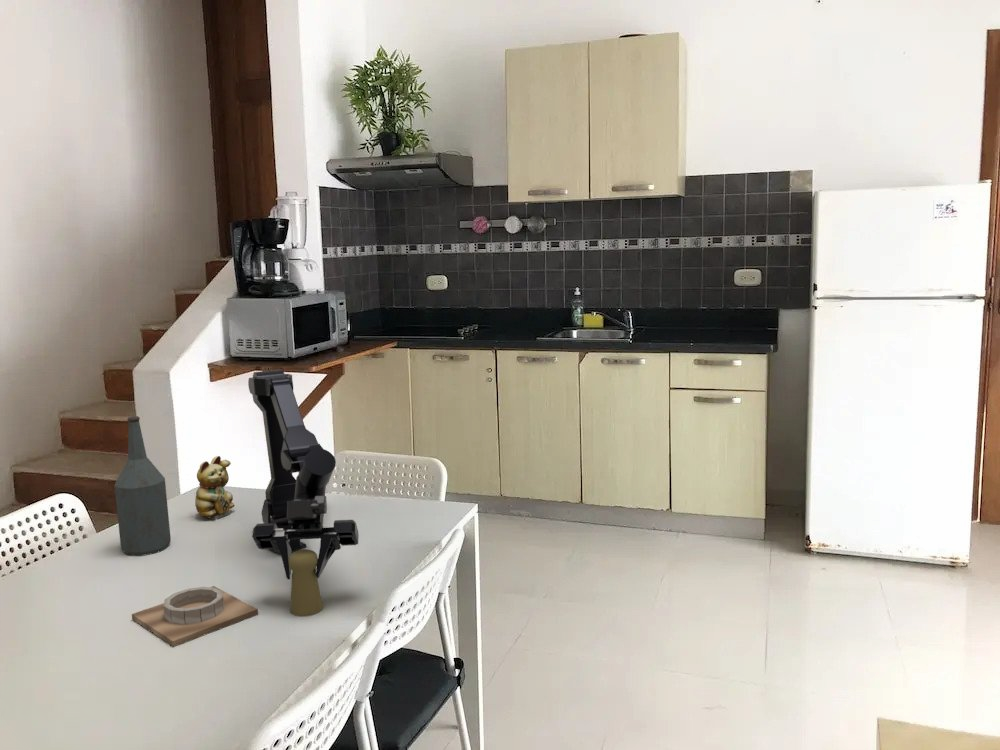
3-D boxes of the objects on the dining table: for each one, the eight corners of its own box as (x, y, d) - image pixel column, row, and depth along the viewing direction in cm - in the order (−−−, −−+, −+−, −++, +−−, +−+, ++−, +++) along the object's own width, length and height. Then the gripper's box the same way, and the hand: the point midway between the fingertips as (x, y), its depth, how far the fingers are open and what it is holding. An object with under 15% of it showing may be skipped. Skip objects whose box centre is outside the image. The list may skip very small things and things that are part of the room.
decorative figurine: (214, 523, 203) (208, 463, 200) (186, 520, 206) (181, 460, 203) (239, 510, 212) (235, 453, 209) (213, 508, 215) (208, 451, 212)
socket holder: (132, 619, 152) (130, 601, 151) (214, 590, 163) (212, 573, 163) (173, 646, 141) (171, 627, 140) (258, 614, 152) (256, 596, 152)
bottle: (122, 559, 181) (108, 423, 176) (120, 545, 190) (106, 415, 185) (173, 550, 186) (161, 417, 181) (168, 536, 194) (156, 410, 189)
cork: (315, 617, 150) (311, 558, 149) (284, 615, 152) (279, 557, 150) (328, 602, 156) (325, 546, 154) (298, 600, 157) (294, 545, 156)
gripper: (250, 482, 154) (239, 562, 144) (353, 477, 154) (349, 557, 145) (263, 509, 163) (254, 586, 154) (360, 505, 163) (356, 582, 154)
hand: (302, 577), depth 151 cm, fingers closed on cork, 5 cm apart
